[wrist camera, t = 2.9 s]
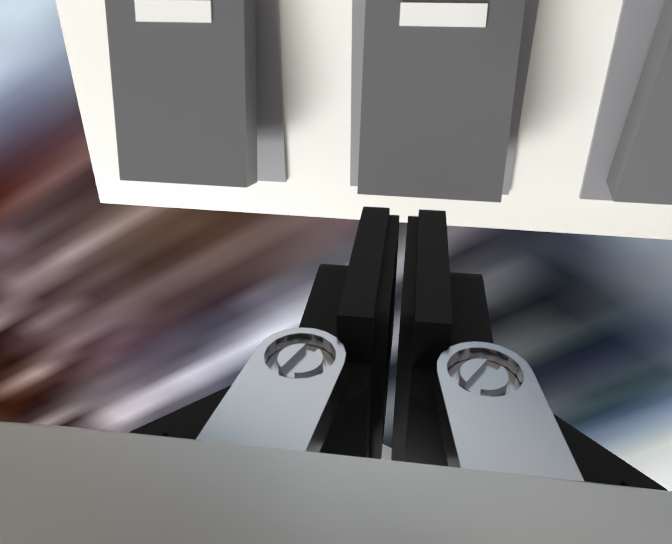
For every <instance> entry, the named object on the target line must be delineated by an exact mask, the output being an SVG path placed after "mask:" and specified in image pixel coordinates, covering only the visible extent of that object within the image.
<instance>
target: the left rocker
mask: <svg viewBox="0 0 672 544" xmlns="http://www.w3.org/2000/svg"><path fill="white" fill-rule="evenodd" d="M105 10H106V22H107V33H108V45H109V57H110V69H111V81H112V93H113V105H114V116H115V128H116V140H117V152H118V164H119V176H120V180H125V181H142V182H159V183H176V184H193V185H210V186H227V187H244V188H247V187H249V186H251V185H253V184H255V183H257V182H258V181H257V87H256V0H105Z"/></svg>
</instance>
